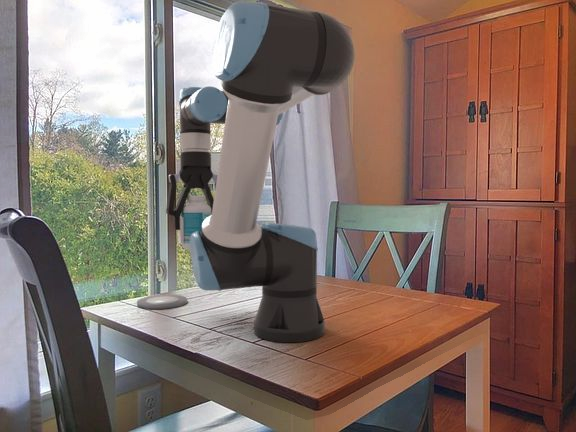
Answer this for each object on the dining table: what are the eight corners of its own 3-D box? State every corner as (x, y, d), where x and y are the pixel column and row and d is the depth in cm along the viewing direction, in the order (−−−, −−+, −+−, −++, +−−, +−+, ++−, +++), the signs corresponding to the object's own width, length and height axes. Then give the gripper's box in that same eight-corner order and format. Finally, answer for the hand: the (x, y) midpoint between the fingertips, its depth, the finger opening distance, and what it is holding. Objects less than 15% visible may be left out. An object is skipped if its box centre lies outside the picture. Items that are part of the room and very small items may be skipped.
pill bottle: (208, 250, 118) (208, 195, 117) (178, 250, 118) (177, 195, 117) (214, 246, 125) (213, 195, 125) (186, 246, 126) (185, 195, 125)
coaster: (192, 305, 125) (192, 302, 125) (141, 311, 120) (141, 308, 120) (180, 295, 137) (180, 292, 137) (133, 300, 131) (133, 297, 131)
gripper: (229, 153, 128) (230, 238, 129) (151, 151, 119) (153, 242, 120) (239, 151, 121) (239, 241, 123) (157, 149, 112) (159, 246, 114)
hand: (196, 242), depth 122 cm, fingers closed on pill bottle, 7 cm apart
